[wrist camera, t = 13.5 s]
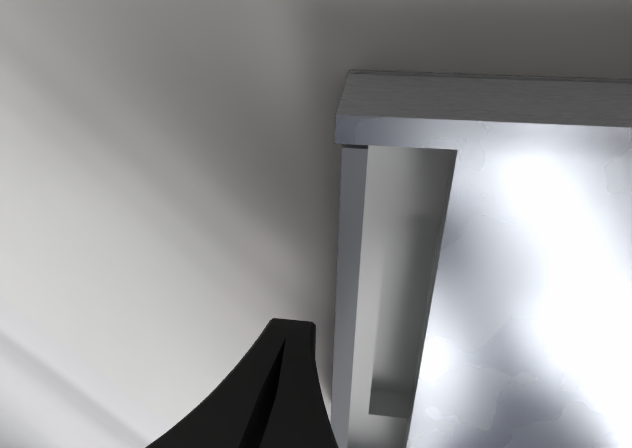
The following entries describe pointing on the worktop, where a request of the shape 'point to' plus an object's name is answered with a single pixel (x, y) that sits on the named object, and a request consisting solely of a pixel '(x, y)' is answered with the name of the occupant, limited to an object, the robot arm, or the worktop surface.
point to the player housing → (517, 254)
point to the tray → (382, 286)
